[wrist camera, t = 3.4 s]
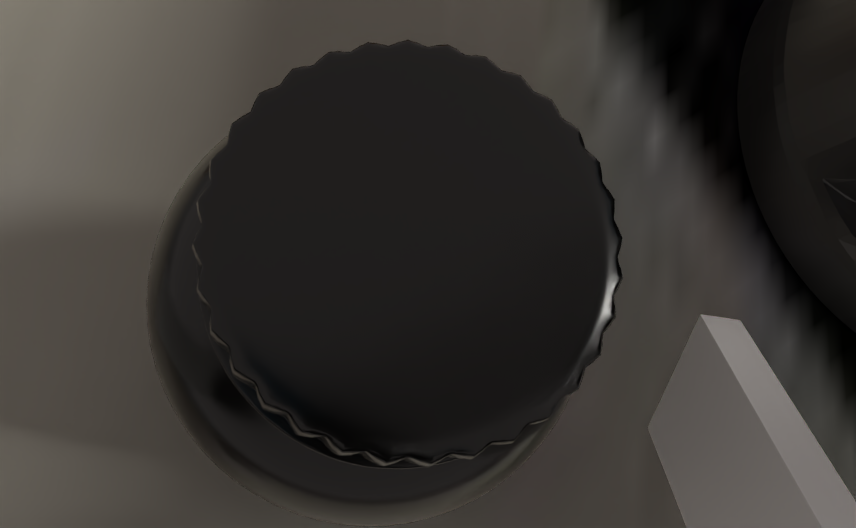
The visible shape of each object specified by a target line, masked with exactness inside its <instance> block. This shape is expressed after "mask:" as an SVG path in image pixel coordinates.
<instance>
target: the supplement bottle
mask: <svg viewBox="0 0 856 528" xmlns="http://www.w3.org/2000/svg"><path fill="white" fill-rule="evenodd" d="M621 242H622V236H621V234H620V231H619V229H618V227H617V225H616V223H615V221H614V198H613V196H612V195H611V193H610V192H609V190H608V189H607V188H606V187H605V185H604V184H603V181H602V172H601V167H600V162H599V161H598V160H597V159H596V158H595V157H594V156H593V155H592V154H590V153H589V152H588V151H587V150H586V149H585V146H584V143H583V139H582V137H581V134H580V132H579V129H578V128H576V127H575V126H574V125H572V124H571V123H569V122H567V121H566V120H564V119H563V118H562V117H561V115H560V113H559V111H558V109H557V107H556V106H555V104H554V102H553V101H552V100H551V99H549V98H547V97H545V96H544V95H541V94H539V93H536V92H534V91H533V90H532V89H531V87H530V86H529V85H528V83H527V82H526V81H525V80H524V79H523V78H522V76H521V75H518V74H515V73H512V72H505V71H502V70H501V69H500V68H498V67H497V66H496V65H495V64H494V63H493V62H492V61H491V60H489V59H488V58H487V57H485V56H478V55H473V56H470V55H465V54H463V53H461V52H460V51H458V50H457V49H455V48H453V47H451V46H450V45H436V46H431V47H426V46H423V45H421V44H419V43H417V42H413V41H410V40H406V41H402V42H398V43H396V44H393V45H390V46H387V45H382V44H377V43H369V42H368V43H366V44H364V45H361V46H359V47H358V48H356V49H354V50H353V51H351V52H340V51H338V52H328V53H327V54H326V55H324V56H323V57H322V58H321V59H320V60H318V61H317V62H316V63H315V64H314V65H311V66H303V67H299V68H294V69H292V70H291V71H290V72H289V73H288V75H287V76H286V77H285V79H284V80H283V81H282V83H281V84H280V85H279V86H277V87H274V88H270V89H267V90H265V91H263V92H261V93H259V95H258V97H257V98H256V100H255V102H254V105H253V107H252V110H251V112H249V113H247V114H246V115H244V116H242V117H241V118H239V119H238V120H237V121H235V122H234V123H232V124H231V127H230V131H229V135H228V136H227V137H225V138H224V139H223V140H222V141H221V142H219V143H218V144H217V145H216V146H215V147H214V148H213V149H212V150H211V151H210V152H209V153H208V154H207V155H206V156H205V157H204V158H203V159H202V160H201V162H200V163H199V164H198V165H197V167H196V168H195V169H194V170H193V171H192V173H191V174H190V175H189V176H188V178H187V180H186V181H185V183H184V184H183V186H182V187H181V189H180V190H179V192H178V193H177V195H176V197H175V199H174V201H173V203H172V204H171V206H170V208H169V210H168V212H167V214H166V216H165V219H164V221H163V224H162V226H161V229H160V232H159V234H158V237H157V241H156V244H155V248H154V251H153V255H152V259H151V265H150V271H149V277H148V289H147V324H148V331H149V338H150V345H151V350H152V354H153V358H154V362H155V366H156V369H157V372H158V375H159V378H160V380H161V383H162V386H163V388H164V391H165V393H166V395H167V397H168V399H169V401H170V403H171V405H172V407H173V409H174V411H175V413H176V415H177V416H178V418H179V419H180V421H181V423H182V424H183V426H184V427H185V429H186V431H187V432H188V433H189V435H190V436H191V437H192V438H193V440H194V441H195V442H196V443H197V445H198V446H199V447H200V449H201V450H202V451H203V452H204V453H205V454H206V455H207V456H208V457H209V458H210V459H211V460H212V461H213V462H214V463H215V464H216V465H217V466H218V467H219V468H220V469H221V470H223V471H224V472H225V473H226V474H227V475H228V476H230V477H231V478H232V479H233V480H234V481H236V482H237V483H239V484H240V485H242V486H243V487H245V488H246V489H248V490H249V491H251V492H252V493H254V494H255V495H257V496H259V497H261V498H263V499H264V500H266V501H268V502H270V503H272V504H274V505H276V506H278V507H281V508H283V509H286V510H288V511H290V512H293V513H295V514H298V515H302V516H305V517H309V518H312V519H315V520H319V521H324V522H330V523H335V524H341V525H352V526H390V525H398V524H405V523H412V522H416V521H420V520H424V519H428V518H433V517H435V516H438V515H441V514H444V513H447V512H450V511H452V510H455V509H457V508H459V507H461V506H463V505H466V504H468V503H470V502H472V501H474V500H476V499H477V498H479V497H481V496H482V495H484V494H486V493H487V492H489V491H491V490H492V489H494V488H495V487H496V486H498V485H499V484H500V483H502V482H503V481H504V480H506V479H507V478H508V477H510V476H511V475H512V474H513V473H514V472H515V471H516V470H517V469H518V468H519V467H520V466H522V465H523V464H524V463H525V462H526V461H527V460H528V459H529V458H530V456H531V455H532V454H533V453H534V452H535V451H536V450H537V449H538V447H539V446H540V445H541V444H542V443H543V441H544V440H545V438H546V437H547V436H548V434H549V433H550V432H551V430H552V429H553V427H554V426H555V424H556V422H557V421H558V419H559V417H560V415H561V414H562V412H563V410H564V408H565V406H566V404H567V402H568V400H569V397H570V395H571V394H572V393H573V392H575V391H577V390H578V389H579V386H580V384H581V381H582V378H583V375H584V371H585V368H586V367H587V366H589V365H590V364H591V363H592V362H594V361H595V360H596V359H597V358H598V357H599V356H600V355H601V350H602V345H603V343H602V339H603V333H604V332H605V331H606V330H607V328H608V327H609V326H610V325H611V323H612V322H613V320H614V319H615V317H616V316H615V303H614V295H615V293H616V291H617V290H618V288H619V286H620V283H621V281H622V279H623V277H622V272H621V268H620V265H619V262H618V254H619V251H620V247H621Z"/></svg>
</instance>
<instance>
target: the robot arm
mask: <svg viewBox="0 0 856 528" xmlns="http://www.w3.org/2000/svg"><path fill="white" fill-rule="evenodd" d="M737 115H738V127H739V136H740V142H741V149H742V153H743V158H744V162H745V167H746V170H747V174H748V177H749V180H750V184H751V187H752V190H753V192H754V195H755V198H756V200H757V203H758V206H759V208H760V210H761V212H762V215H763V217H764V219H765V221H766V223H767V225H768V227H769V229H770V231H771V233H772V235H773V237H774V238H775V240H776V242H777V244H778V245H779V247H780V249H781V250H782V252H783V253H784V255H785V257H786V258H787V260H788V261H789V262H790V264H791V265H792V267H793V268H794V270H795V271H796V272H797V274H798V275H799V276H800V278H801V279H802V280H803V281H804V283H805V284H806V285H807V286H808V287H809V289H810V290H811V291H812V292H813V293H814V294H815V295H816V296H817V298H818V299H819V300H820V301H821V302H822V303H823V304H824V305H825V306H826V307H827V308H828V309H829V310H830V311H831V312H832V313H833V314H834V315H835V316H836V317H837V318H838V319H840V320H841V321H842V322H843V323H844V324H846V325H847V326H848V327H849V328H850V329H852V330H853V331H854V332H855V333H856V0H764V1H763V3H762V4H761V6H760V8H759V10H758V12H757V14H756V16H755V18H754V21H753V23H752V26H751V28H750V30H749V33H748V37H747V40H746V43H745V46H744V50H743V55H742V59H741V64H740V71H739V78H738V92H737ZM647 428H648V431H649V433H650V436H651V439H652V441H653V444H654V446H655V449H656V451H657V454H658V456H659V459H660V461H661V464H662V467H663V469H664V472H665V474H666V477H667V479H668V482H669V484H670V487H671V490H672V492H673V495H674V497H675V500H676V502H677V505H678V507H679V510H680V513H681V515H682V518H683V520H684V523H685V525H686V528H856V501H855V499H854V498H853V496H852V495H851V493H850V492H849V490H848V488H847V487H846V485H845V484H844V482H843V481H842V479H841V477H840V476H839V474H838V473H837V471H836V470H835V468H834V466H833V465H832V463H831V462H830V460H829V459H828V457H827V455H826V454H825V452H824V451H823V449H822V448H821V446H820V444H819V443H818V441H817V440H816V438H815V437H814V435H813V433H812V432H811V430H810V429H809V427H808V426H807V424H806V422H805V421H804V419H803V418H802V416H801V415H800V413H799V411H798V410H797V408H796V407H795V405H794V404H793V402H792V400H791V399H790V397H789V396H788V394H787V393H786V391H785V389H784V388H783V386H782V385H781V383H780V382H779V380H778V378H777V377H776V375H775V374H774V372H773V371H772V369H771V367H770V366H769V364H768V363H767V361H766V360H765V358H764V356H763V355H762V353H761V352H760V350H759V349H758V347H757V345H756V344H755V342H754V341H753V339H752V338H751V336H750V334H749V333H748V331H747V330H746V328H745V327H744V325H743V324H742V322H741V320H737V319H730V318H723V317H716V316H709V315H702V314H700V316H699V318H698V320H697V322H696V324H695V326H694V328H693V331H692V333H691V335H690V337H689V339H688V341H687V344H686V346H685V348H684V350H683V352H682V354H681V356H680V359H679V361H678V363H677V365H676V367H675V369H674V371H673V374H672V376H671V378H670V380H669V382H668V384H667V387H666V389H665V391H664V393H663V395H662V397H661V399H660V402H659V404H658V406H657V408H656V410H655V412H654V414H653V417H652V419H651V421H650V423H649V425H648V427H647Z"/></svg>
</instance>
